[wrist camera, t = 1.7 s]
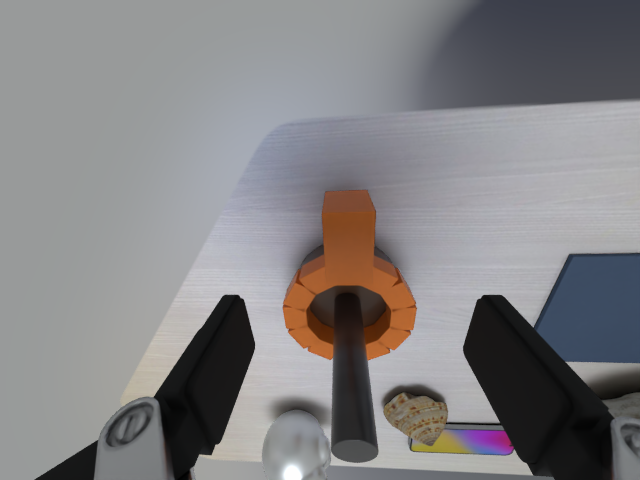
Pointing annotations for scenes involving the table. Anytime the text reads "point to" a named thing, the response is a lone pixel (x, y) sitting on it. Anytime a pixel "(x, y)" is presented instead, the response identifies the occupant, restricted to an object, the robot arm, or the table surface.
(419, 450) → the smartphone
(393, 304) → the ring
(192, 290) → the table surface
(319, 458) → the baroque pearl
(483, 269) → the table surface
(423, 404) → the seashell
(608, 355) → the mat
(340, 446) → the stake
